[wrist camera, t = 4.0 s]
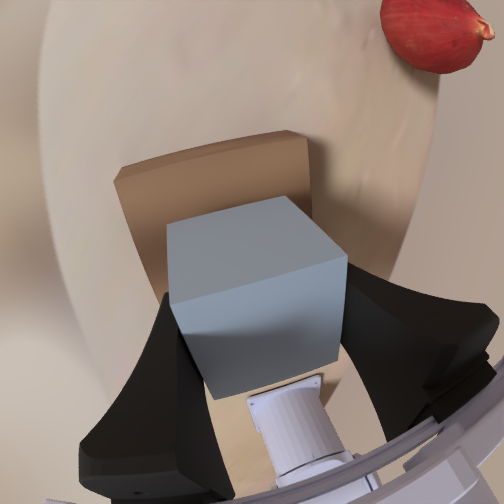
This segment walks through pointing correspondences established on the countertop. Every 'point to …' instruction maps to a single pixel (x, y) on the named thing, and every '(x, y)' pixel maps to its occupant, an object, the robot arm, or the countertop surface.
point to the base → (208, 188)
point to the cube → (256, 294)
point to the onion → (435, 33)
